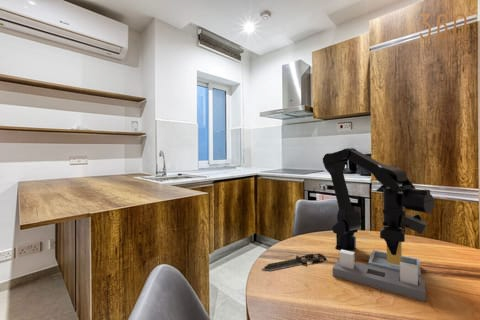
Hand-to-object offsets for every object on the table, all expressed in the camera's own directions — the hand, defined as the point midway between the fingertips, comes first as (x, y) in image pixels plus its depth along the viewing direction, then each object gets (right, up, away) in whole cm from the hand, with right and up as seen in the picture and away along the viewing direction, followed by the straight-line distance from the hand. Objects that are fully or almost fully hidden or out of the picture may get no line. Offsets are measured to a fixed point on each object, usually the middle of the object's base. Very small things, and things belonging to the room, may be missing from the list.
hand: (393, 253), depth 76 cm
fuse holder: (-10, -6, -7) cm, 14 cm away
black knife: (-32, -7, +5) cm, 33 cm away
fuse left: (-17, -6, -2) cm, 18 cm away
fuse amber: (0, -3, 0) cm, 3 cm away
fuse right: (-4, -6, -12) cm, 14 cm away
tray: (0, -5, 0) cm, 5 cm away
